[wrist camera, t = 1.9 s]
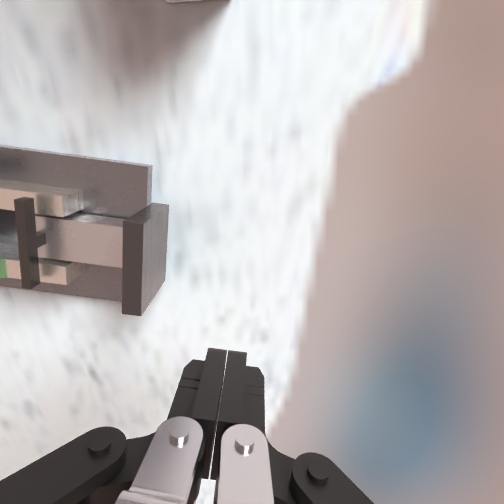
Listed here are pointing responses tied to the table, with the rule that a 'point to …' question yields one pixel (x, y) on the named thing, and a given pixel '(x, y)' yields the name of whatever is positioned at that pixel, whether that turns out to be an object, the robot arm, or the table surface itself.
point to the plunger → (98, 247)
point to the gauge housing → (67, 211)
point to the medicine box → (174, 0)
